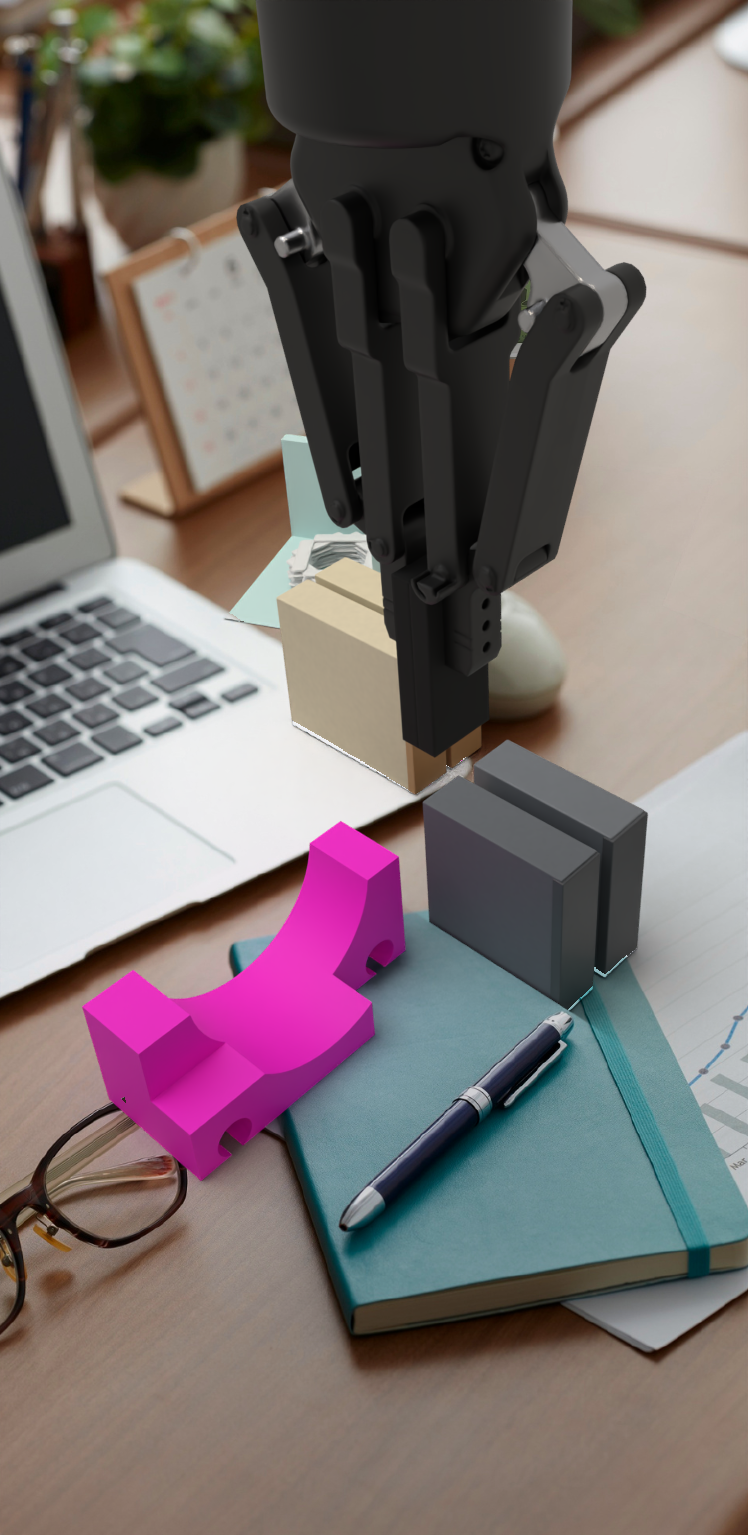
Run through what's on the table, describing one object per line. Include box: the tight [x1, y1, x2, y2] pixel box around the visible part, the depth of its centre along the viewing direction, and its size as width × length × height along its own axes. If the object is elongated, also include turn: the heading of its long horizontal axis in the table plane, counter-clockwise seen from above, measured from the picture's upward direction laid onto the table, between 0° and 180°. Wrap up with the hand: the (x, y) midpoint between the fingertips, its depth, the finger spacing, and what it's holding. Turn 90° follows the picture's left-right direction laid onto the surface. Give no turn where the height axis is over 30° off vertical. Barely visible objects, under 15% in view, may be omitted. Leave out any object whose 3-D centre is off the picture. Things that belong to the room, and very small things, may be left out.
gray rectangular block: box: [422, 775, 600, 1011], centre depth 66 cm, size 3×8×9 cm, turn 46°
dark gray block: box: [473, 739, 649, 974], centre depth 68 cm, size 3×8×9 cm, turn 46°
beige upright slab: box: [315, 557, 482, 769], centre depth 81 cm, size 3×10×9 cm, turn 46°
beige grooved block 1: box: [276, 579, 448, 796], centre depth 79 cm, size 3×10×9 cm, turn 46°
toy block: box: [81, 820, 407, 1182], centre depth 63 cm, size 15×6×8 cm, turn 136°
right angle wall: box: [228, 433, 380, 629], centre depth 94 cm, size 12×12×8 cm
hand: (446, 728), depth 48 cm, fingers closed
